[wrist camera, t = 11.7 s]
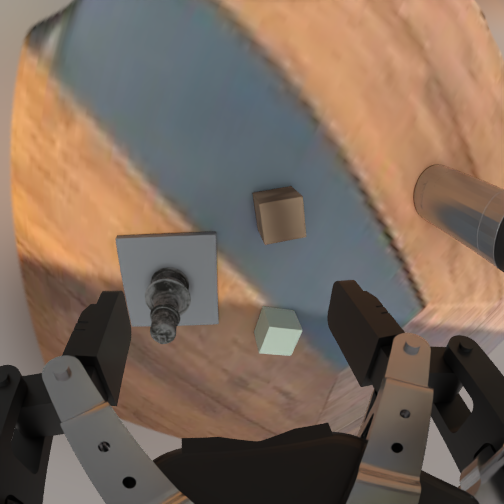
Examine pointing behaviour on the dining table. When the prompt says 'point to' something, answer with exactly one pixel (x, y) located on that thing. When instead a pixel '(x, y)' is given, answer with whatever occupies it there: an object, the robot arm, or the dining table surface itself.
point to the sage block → (277, 331)
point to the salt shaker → (167, 302)
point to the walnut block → (279, 214)
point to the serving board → (174, 256)
